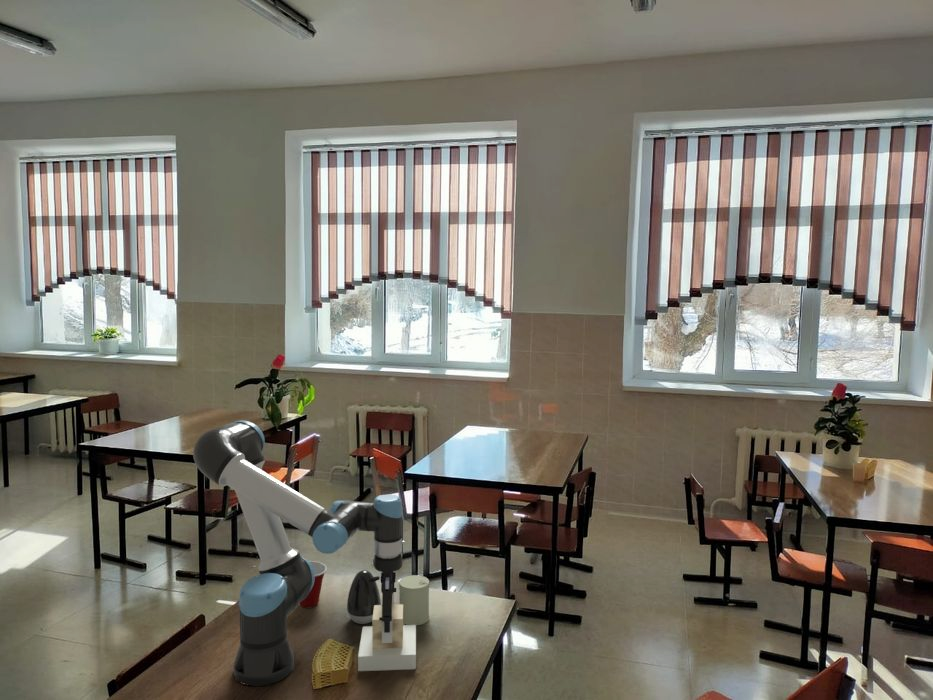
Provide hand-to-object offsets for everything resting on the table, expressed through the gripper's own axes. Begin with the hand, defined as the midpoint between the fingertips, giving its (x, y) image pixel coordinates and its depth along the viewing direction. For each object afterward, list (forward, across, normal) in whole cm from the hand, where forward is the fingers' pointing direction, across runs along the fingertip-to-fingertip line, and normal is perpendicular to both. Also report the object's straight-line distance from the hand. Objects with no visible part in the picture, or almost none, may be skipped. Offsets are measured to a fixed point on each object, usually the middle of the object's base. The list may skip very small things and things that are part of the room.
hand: (388, 628), depth 173 cm
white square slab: (+7, 0, 0) cm, 7 cm away
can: (+8, +19, -7) cm, 22 cm away
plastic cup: (+7, +30, +26) cm, 40 cm away
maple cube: (+3, 0, 0) cm, 3 cm away
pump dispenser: (+7, +19, +8) cm, 22 cm away
